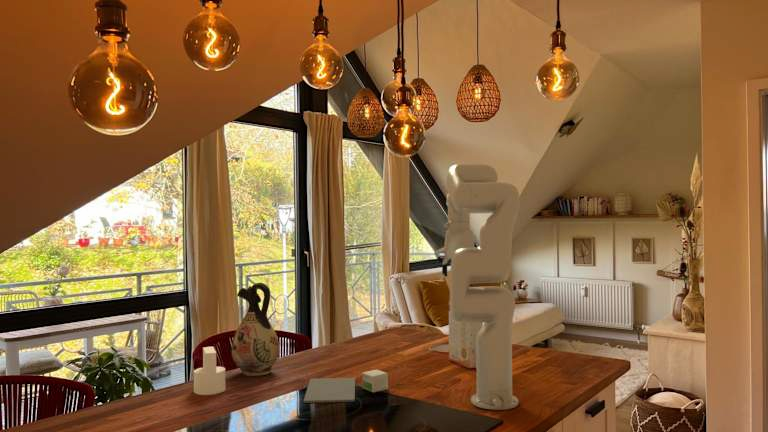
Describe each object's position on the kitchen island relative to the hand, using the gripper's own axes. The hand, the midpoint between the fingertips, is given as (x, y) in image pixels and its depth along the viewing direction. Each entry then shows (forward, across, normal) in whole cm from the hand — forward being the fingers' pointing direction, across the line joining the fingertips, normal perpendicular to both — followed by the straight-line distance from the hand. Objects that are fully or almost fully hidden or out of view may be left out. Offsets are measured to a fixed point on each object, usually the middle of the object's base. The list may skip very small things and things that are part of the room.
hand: (459, 275), depth 203 cm
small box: (+31, -30, -28) cm, 51 cm away
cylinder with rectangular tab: (+31, -79, -26) cm, 89 cm away
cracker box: (+31, +2, 0) cm, 31 cm away
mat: (+30, -43, -29) cm, 60 cm away
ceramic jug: (+31, -68, -8) cm, 75 cm away
